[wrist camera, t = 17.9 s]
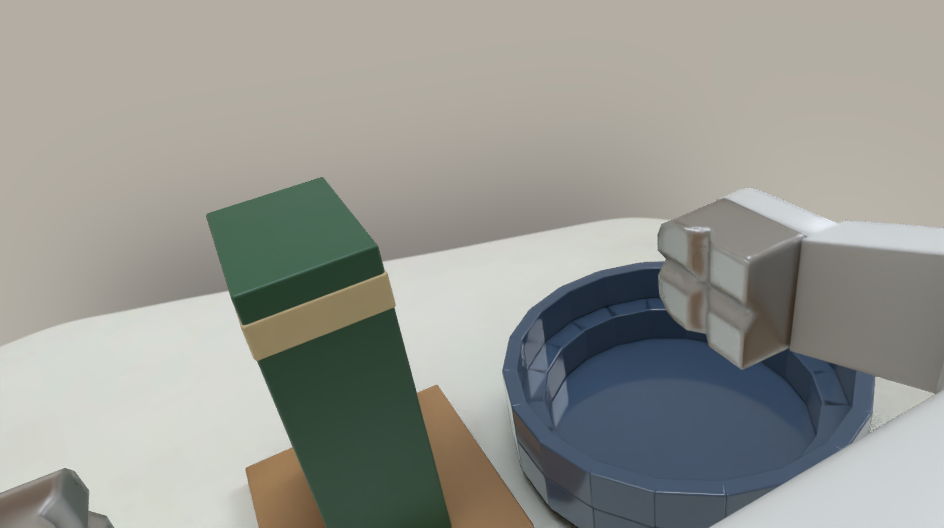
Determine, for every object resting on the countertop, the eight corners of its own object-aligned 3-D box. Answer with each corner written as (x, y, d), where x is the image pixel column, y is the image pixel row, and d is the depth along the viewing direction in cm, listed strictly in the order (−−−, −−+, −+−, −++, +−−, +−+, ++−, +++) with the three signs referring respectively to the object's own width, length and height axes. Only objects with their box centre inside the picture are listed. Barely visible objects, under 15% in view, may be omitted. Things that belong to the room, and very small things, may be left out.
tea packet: (397, 426, 29) (323, 174, 23) (454, 528, 24) (380, 244, 18) (307, 467, 28) (203, 213, 22) (347, 584, 23) (229, 299, 17)
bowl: (692, 297, 35) (693, 231, 33) (942, 463, 24) (967, 380, 22) (465, 399, 31) (450, 331, 29) (645, 649, 21) (642, 570, 18)
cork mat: (440, 396, 32) (437, 383, 31) (536, 539, 24) (534, 524, 24) (250, 480, 29) (244, 467, 29) (295, 668, 22) (288, 654, 21)
